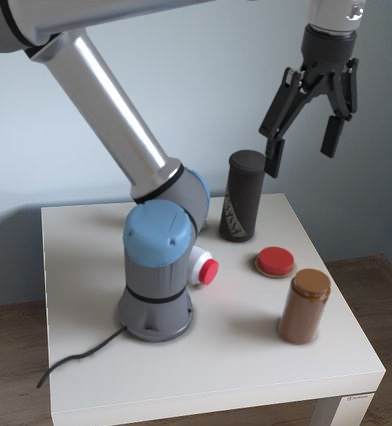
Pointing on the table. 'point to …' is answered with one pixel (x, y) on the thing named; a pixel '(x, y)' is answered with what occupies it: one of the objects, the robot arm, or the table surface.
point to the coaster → (272, 274)
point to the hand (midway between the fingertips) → (299, 164)
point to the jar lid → (275, 260)
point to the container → (242, 195)
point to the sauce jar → (304, 306)
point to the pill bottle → (201, 266)
